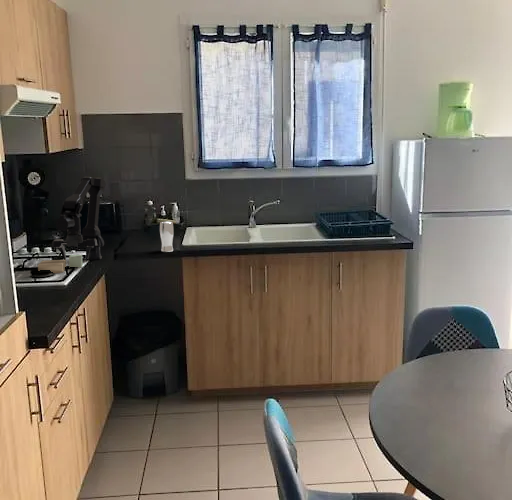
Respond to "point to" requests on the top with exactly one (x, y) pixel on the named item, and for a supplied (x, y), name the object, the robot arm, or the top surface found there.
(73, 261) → the sage cube
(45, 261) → the oak block
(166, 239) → the beer glass
